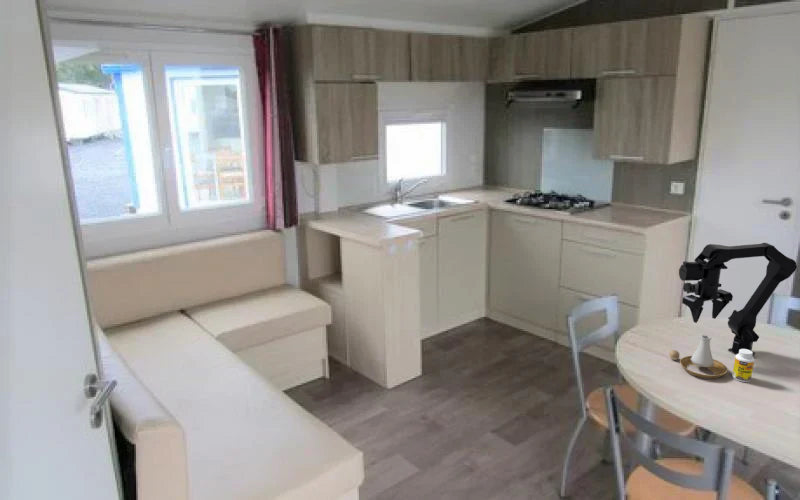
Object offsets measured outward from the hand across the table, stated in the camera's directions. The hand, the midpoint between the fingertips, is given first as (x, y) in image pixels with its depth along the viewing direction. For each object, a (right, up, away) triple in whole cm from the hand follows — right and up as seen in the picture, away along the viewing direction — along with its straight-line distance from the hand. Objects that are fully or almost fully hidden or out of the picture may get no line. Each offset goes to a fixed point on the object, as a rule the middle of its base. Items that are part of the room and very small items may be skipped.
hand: (704, 320), depth 213 cm
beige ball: (-12, -12, -2) cm, 17 cm away
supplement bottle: (+4, -18, -15) cm, 24 cm away
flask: (-5, -14, -9) cm, 17 cm away
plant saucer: (-6, -17, -9) cm, 20 cm away
